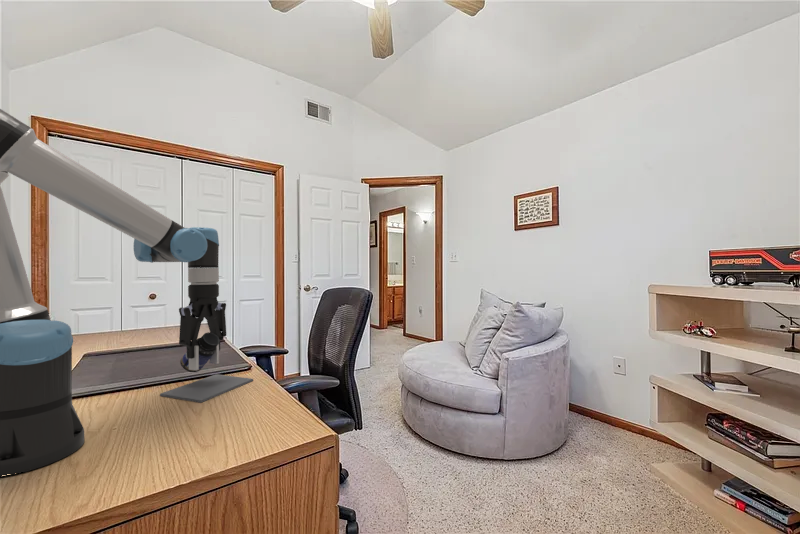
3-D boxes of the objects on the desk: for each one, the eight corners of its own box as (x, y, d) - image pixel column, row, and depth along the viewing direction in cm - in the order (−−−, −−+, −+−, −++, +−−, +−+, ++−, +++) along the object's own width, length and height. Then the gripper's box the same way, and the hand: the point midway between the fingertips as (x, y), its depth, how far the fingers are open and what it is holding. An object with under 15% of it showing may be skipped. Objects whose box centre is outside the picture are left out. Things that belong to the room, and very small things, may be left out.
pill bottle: (205, 367, 105) (226, 342, 102) (190, 376, 99) (212, 350, 97) (190, 352, 105) (211, 327, 102) (174, 361, 99) (195, 334, 97)
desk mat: (200, 402, 89) (200, 400, 89) (160, 396, 94) (160, 393, 94) (253, 380, 106) (253, 378, 106) (216, 376, 110) (216, 374, 110)
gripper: (220, 281, 111) (221, 356, 111) (161, 285, 93) (161, 374, 93) (240, 282, 108) (240, 359, 108) (182, 285, 90) (183, 377, 90)
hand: (204, 366), depth 100 cm, fingers closed on pill bottle, 6 cm apart
